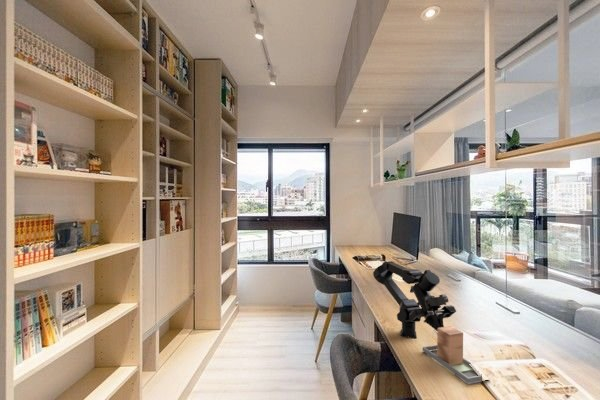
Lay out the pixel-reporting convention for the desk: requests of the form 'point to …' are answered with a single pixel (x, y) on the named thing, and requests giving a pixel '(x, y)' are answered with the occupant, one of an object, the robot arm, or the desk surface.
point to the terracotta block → (450, 345)
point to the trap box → (455, 367)
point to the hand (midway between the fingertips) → (443, 335)
